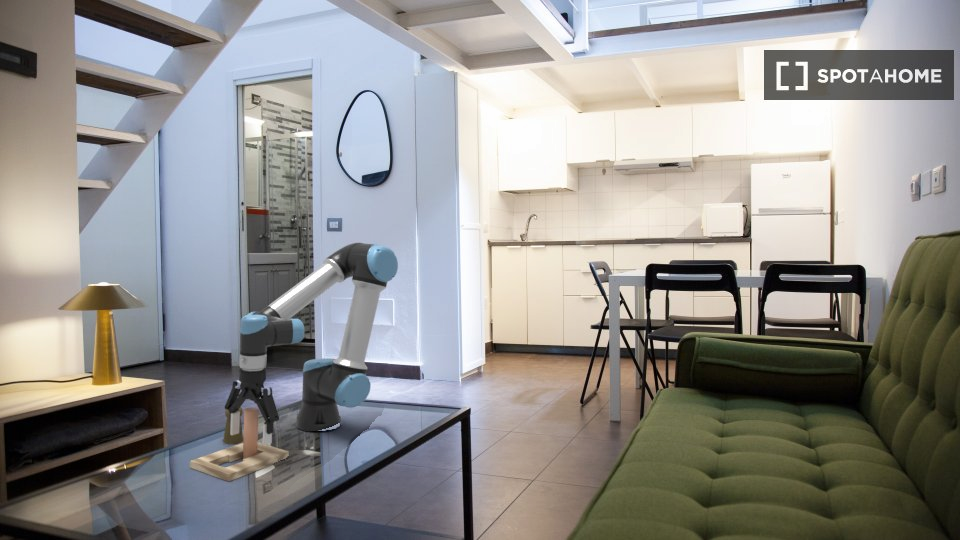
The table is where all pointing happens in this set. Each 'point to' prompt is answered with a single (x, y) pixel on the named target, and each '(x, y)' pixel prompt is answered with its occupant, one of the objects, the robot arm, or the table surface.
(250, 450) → the peg
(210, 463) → the keyhole board
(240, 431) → the cork
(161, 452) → the table surface
